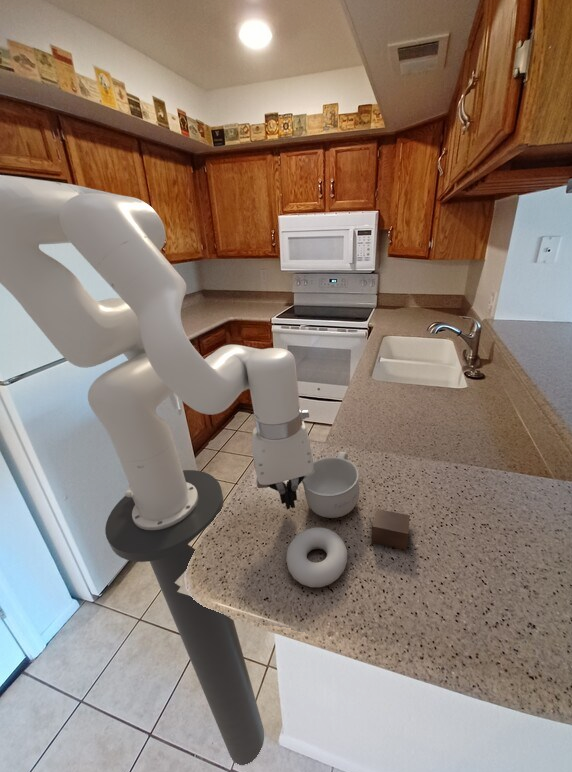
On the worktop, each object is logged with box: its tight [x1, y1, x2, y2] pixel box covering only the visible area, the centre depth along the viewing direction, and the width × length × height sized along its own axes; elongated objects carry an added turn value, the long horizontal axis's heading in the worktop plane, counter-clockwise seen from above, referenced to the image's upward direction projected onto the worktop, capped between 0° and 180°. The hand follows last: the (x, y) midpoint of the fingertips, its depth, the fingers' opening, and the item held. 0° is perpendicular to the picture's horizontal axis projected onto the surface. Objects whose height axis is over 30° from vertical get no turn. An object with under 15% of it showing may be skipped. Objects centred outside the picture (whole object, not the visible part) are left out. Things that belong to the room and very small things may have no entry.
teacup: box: [301, 451, 360, 519], centre depth 65 cm, size 14×11×8 cm
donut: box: [285, 527, 348, 588], centre depth 53 cm, size 10×4×10 cm
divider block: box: [371, 508, 411, 551], centre depth 57 cm, size 6×4×4 cm, turn 73°
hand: (289, 503), depth 63 cm, fingers closed
